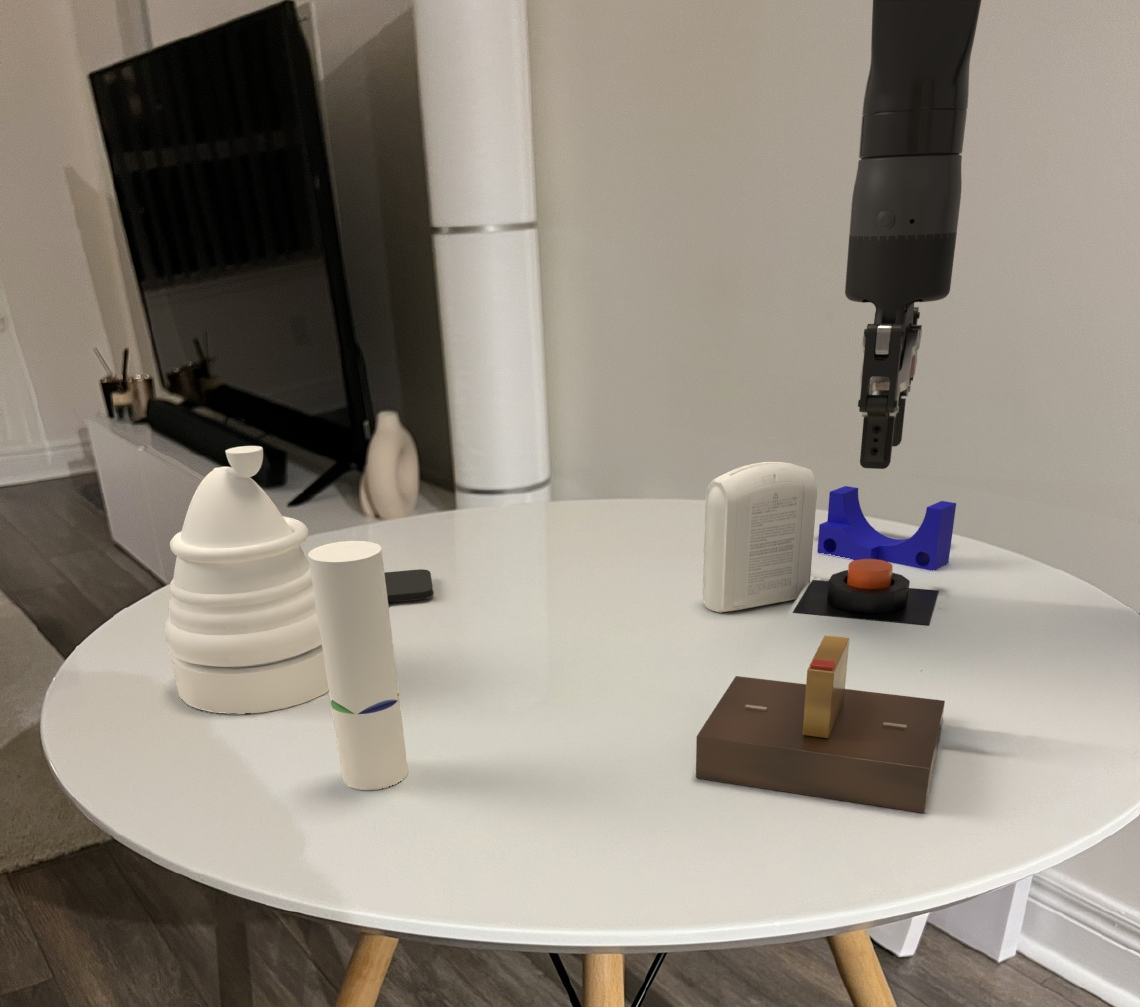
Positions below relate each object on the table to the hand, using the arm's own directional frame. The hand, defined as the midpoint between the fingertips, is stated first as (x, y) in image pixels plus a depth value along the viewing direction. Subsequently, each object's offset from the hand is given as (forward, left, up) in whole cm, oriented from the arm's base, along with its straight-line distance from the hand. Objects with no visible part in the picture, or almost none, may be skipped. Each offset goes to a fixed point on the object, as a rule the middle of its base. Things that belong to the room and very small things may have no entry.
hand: (881, 456), depth 85 cm
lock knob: (-1, +26, -11) cm, 28 cm away
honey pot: (+43, +26, -14) cm, 52 cm away
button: (0, -1, -11) cm, 11 cm away
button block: (0, -1, -14) cm, 14 cm away
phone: (+47, +6, -14) cm, 50 cm away
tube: (+26, +37, -14) cm, 48 cm away
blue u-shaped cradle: (+1, -19, -14) cm, 24 cm away
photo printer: (+10, -3, -14) cm, 18 cm away
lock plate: (-1, +26, -14) cm, 30 cm away
